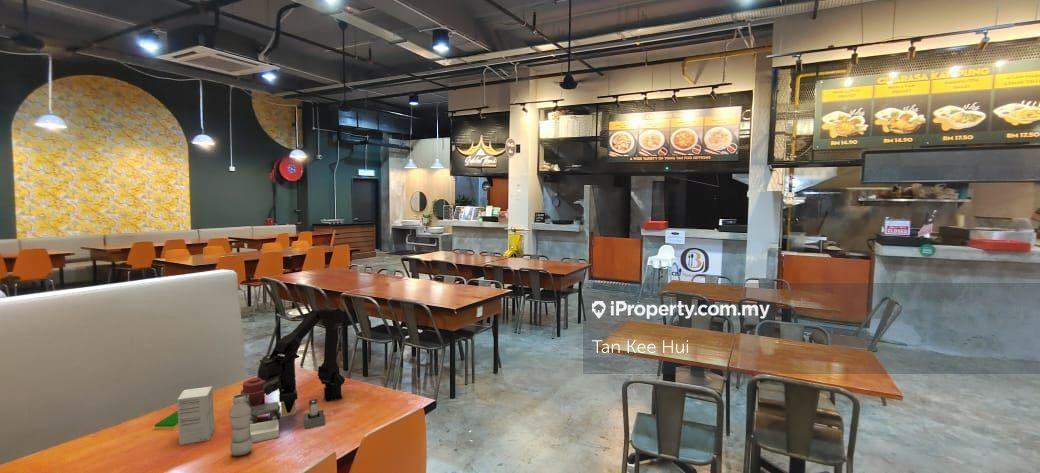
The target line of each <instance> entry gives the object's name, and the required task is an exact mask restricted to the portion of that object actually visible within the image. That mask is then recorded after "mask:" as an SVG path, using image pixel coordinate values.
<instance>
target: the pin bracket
mask: <svg viewBox="0 0 1040 473" xmlns="http://www.w3.org/2000/svg"><path fill="white" fill-rule="evenodd" d="M302 416H303V425H304V427H303V428H304V430H307V429H311V428H316V427H317V428H318V427H321V426H325V422H326V421H325V418H326V417H325V415H324V410H323V409H322V410H318V417H316V418H311V419H310V414H309V412H307V413H303V414H302Z"/></svg>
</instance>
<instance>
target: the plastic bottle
mask: <svg viewBox="0 0 1040 473" xmlns="http://www.w3.org/2000/svg"><path fill="white" fill-rule="evenodd" d="M232 399H233V400H232V403H233V405H232V406H231V408H230V409H229V413H228V415H229V420H230V426H231V442H230V447H229V449H230V450H229V451H230V453H231V454H232V455H233V456H237V457H238V456H243V455H247V454H248V453H250V452H251V450H252V449H253V444H254V443H253V442H252V438H251V432H250V419H251V410H252V409H251V407H250V405H249V404H248V403H246V395H245V394H241V393H240V394H236V395H234V396H232Z"/></svg>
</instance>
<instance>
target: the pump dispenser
mask: <svg viewBox="0 0 1040 473" xmlns="http://www.w3.org/2000/svg"><path fill="white" fill-rule="evenodd" d="M270 355H271V354H266V355H264V356H263V357H262V358H261V359H260V360H259V365H258V368H257V372H256V373H257V374H256V378H260V377H259V375H258V370H259V368H260V366H262V362H264V361H269V360H271V359H269V357H270ZM277 378H278V376H276V377H273V378H271V379H268V380H266V383H268V382H270V381H272V380H274V379H277Z"/></svg>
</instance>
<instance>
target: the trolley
mask: <svg viewBox="0 0 1040 473" xmlns="http://www.w3.org/2000/svg"><path fill="white" fill-rule="evenodd" d="M246 403H248V404H249V395H247V397H246ZM251 409H252V410H251V419H250V424H256V423H258V419H257V417H258V416H259V417H260V416H263V415H268V414H269V415H268V421H271V420H276V419H278V422H280V420H281V412H280V411H281V405H280V404H279V401H274V402H270V403H269V402H268V403H265V404H262V405H257V406H251Z"/></svg>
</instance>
